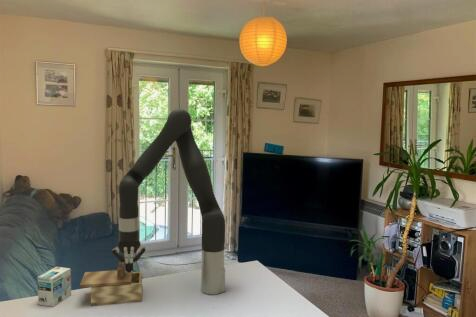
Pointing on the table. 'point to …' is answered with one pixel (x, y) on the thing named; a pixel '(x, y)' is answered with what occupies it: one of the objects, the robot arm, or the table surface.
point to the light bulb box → (54, 286)
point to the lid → (107, 277)
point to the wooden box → (118, 292)
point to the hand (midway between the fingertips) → (129, 271)
